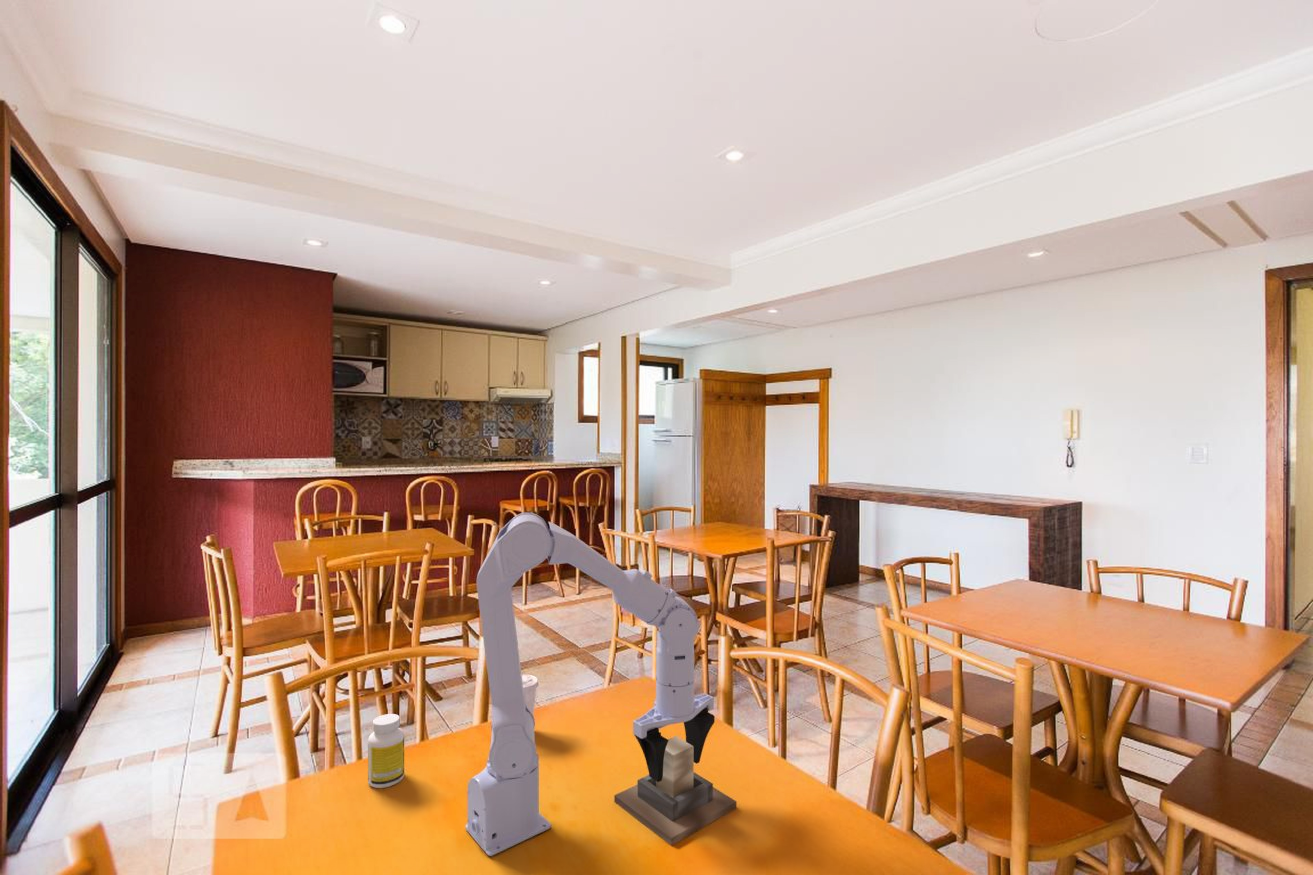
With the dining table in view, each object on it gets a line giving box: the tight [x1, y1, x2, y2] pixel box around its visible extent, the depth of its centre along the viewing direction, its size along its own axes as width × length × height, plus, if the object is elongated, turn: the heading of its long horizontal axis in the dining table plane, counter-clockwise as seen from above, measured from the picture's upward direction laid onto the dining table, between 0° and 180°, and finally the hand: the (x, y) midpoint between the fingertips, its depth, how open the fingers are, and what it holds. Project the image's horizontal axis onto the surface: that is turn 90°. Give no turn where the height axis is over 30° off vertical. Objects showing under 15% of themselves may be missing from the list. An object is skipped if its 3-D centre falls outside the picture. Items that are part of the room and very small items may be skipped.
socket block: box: [613, 772, 738, 846], centre depth 94 cm, size 13×13×4 cm
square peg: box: [656, 735, 695, 798], centre depth 94 cm, size 4×4×8 cm
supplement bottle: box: [367, 713, 405, 789], centre depth 100 cm, size 5×5×10 cm
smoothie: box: [522, 674, 539, 715], centre depth 116 cm, size 6×6×14 cm
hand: (675, 769), depth 94 cm, fingers open, 7 cm apart
